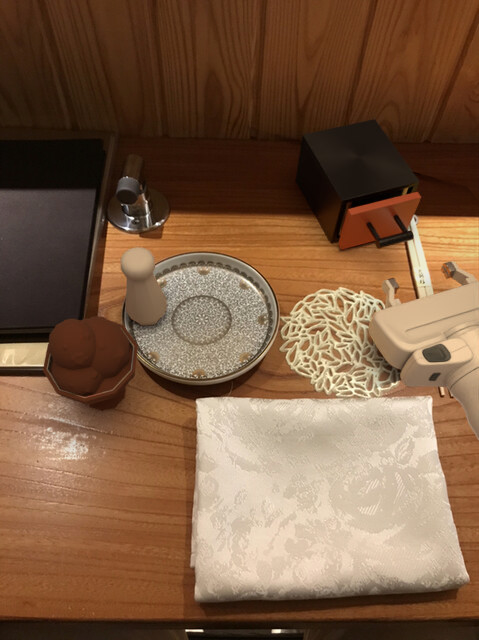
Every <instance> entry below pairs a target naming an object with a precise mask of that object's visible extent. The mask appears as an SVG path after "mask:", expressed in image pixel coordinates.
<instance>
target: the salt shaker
mask: <svg viewBox="0 0 479 640" xmlns="http://www.w3.org/2000/svg"><path fill="white" fill-rule="evenodd" d="M120 270H121V272H122V273H123V275H124V276H125V278H126V288H125V289H126V291H125V303H124V304H125V305H124V306H125V312H126V314H127V315H128V317H129V318H130V320H131V321H134V322H136V323H138V324H139V325H141V326H143V327H144V326H151V325H152V326H153V325H156V324H157V323H158V322H159V321H160V319H161V318H163V316H165V313H166V311H167V309H168V301H167V297H166V295H165V293H164V291H163V289H162V287H161V286H160V283H159V281H158V279H157V278H156V276H155V274H154V271H155V270H156V259H155V256H154V254H153V253H152V252H151V250H150V249H147V248H146V247H140V246H135V247H132V248H129V249H127V250H126V251H124V252H123V254H122V256H121V257H120Z"/></svg>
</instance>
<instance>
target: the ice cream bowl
mask: <svg viewBox="0 0 479 640" xmlns="http://www.w3.org/2000/svg"><path fill="white" fill-rule="evenodd" d="M138 350H139V344H138V343H137V341H136V340H135V339H134V338H133V336H132V335H131V333H130V331H129V330H128V329H127V328H126V327H125V325H124V324H121V323H117V322H116V321H113V320H111V319H108V318H106V317H104V316H98V315H96V316H88V317H87V318H83V319H81V320H79V319H76V318H66V319H65V320H63V321H62V322H60V323H57V324H56V325H55V327H54V328H53V329H52V331H51V332H50V333H49V336H48V344H47V348H46V351H45V357H44V362H43V367H42V372H43V374H44V375H45V377H46V378H47V380H48V381H49V383H50V385H51V387H52V388H53V389H54V391H55V393H56V394H58V395H59V396H60V397H62V398H65V399H68V400H72V401H74V402H78V403H81V404H84V405H88V407H89V408H91V409H94V410H97V411H101V412H105V411H109V410H113V409H115V408H117V407H118V406H119V404H121V402H122V401H123V400H124V399H125V398H126V391H127V389H126V388H127V385H129V383H130V382H131V381H132V380H133V379H134V377H135V376H136V368H137V359H138Z"/></svg>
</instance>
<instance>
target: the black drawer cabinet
mask: <svg viewBox="0 0 479 640" xmlns="http://www.w3.org/2000/svg"><path fill="white" fill-rule="evenodd" d="M298 156H299V157H298V161H297V167H296V174H295V183H296V184H297V186H298V188H299V189H300V191H301V193H302V194H303V196H304V198H305V200H306V202H307V203H308V205H309V207H310V209H311V211H312V212H313V214H314V216H315V218H316V220H317V221H318V224H319V225H320V227H321V229H322V230H323V232H324V234H325V236H326V238H327V240H328V241H329V243H330V244H335V243H339V239H340V235H338V230H339V227H340V223H341V219H342V216H343V212H344V208H345V205H346V203H348V202H352V201H356V200H360V199H364V198H368V197H372V196H376V195H381V194H385V193H389V192H393V191H397V190H401V189H405V188H408V190H407V193H406V194H410V193H414V192H417V189H418V187H419V184H420V180H419V178H418V177H417V176H416V175H415V173H414V171H413V170H412V168H411V167H410V166H409V165H408V163H407V162H406V161H405V159H404V157H403V156H402V154H401V153H400V152H399V151H398V149H397V147H396V146H395V145H394V143H393V141H391V139H390V138H389V137H388V135H387V134H386V133H385V131H384V130H383V128H382V126H381V125H380V124H379V123H378V121H377V119H376V118H373V119H369V120H363V121H359V122H355V123H351V124H346V125H341V126H335V127H332V128H327V129H322V130H318V131H313V132H309V133H308V132H307V133H305V134H302V137H301V142H300V150H299V155H298Z"/></svg>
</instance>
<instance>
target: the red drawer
mask: <svg viewBox="0 0 479 640" xmlns="http://www.w3.org/2000/svg"><path fill="white" fill-rule="evenodd" d="M407 190H408V188H405V189H401V190H397V191H393V192H389V193H385V194H381V195H376V196H372V197H368V198H364V199H360V200H356V201H352V202H348V203H346V205H345V208H344V212H343V216H342V219H341V223H340V227H339V230H338V235H340V239H339V242H337V245H338V246H339V248H340V250H345V249H348V248H352V247H356V246H359V245H364V244H368V243H371V242H374V243H375V244H374V245H375V247H376V248H377V249H378V250H380V249H383V248H388V247H391V246H395V245H399V244H402V243H405V242H410V241H414V236H415V235H414V232H413V231H412V230H409V227H410V225H411V222H412V220H413V218H414V216H415V213H416V211H417V208H418V206H419V204H420V201H421V199H422V196H421V194H420V193H419V191H415V192H414V193H410V194H406V193H407Z"/></svg>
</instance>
